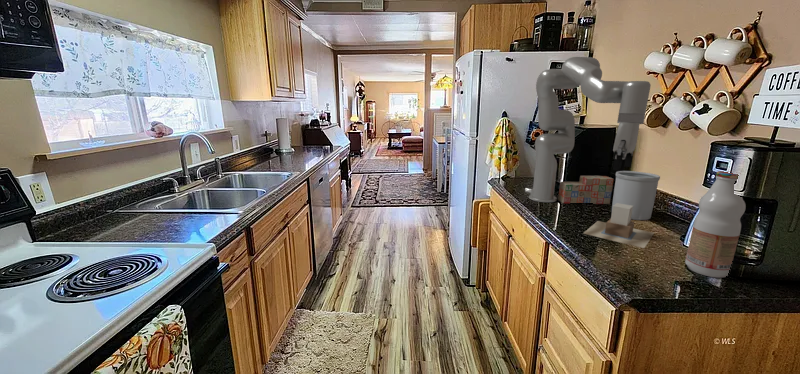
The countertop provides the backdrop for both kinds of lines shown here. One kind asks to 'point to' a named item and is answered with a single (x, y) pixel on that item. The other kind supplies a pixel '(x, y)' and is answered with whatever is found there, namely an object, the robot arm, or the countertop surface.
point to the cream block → (621, 214)
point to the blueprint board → (635, 239)
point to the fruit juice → (716, 228)
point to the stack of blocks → (587, 190)
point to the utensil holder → (636, 192)
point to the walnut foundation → (619, 229)
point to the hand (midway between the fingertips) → (621, 168)
